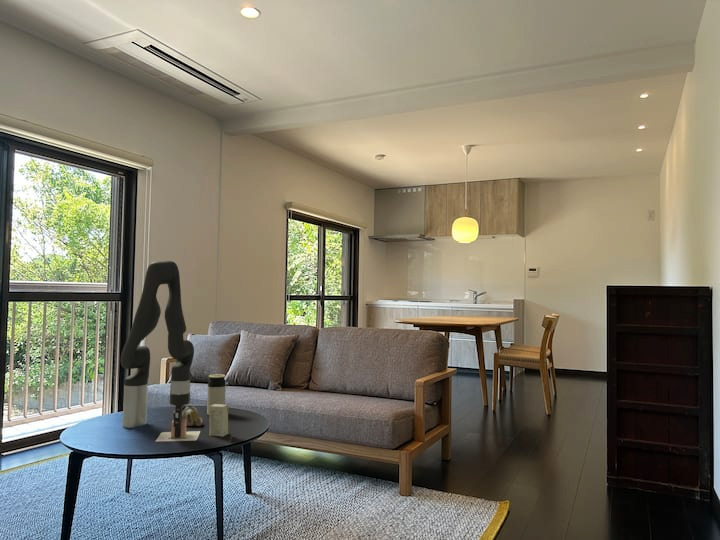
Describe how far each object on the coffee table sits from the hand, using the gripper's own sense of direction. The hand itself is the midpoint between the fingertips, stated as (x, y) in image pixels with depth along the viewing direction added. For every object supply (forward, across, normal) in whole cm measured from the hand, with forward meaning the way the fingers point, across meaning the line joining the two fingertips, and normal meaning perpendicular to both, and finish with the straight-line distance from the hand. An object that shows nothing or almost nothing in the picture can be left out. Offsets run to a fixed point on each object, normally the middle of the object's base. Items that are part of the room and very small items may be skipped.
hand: (178, 435), depth 207 cm
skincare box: (+1, -1, +15) cm, 15 cm away
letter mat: (+1, 0, 0) cm, 1 cm away
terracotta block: (0, 0, 0) cm, 0 cm away
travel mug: (+1, -38, +11) cm, 40 cm away
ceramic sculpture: (+1, -18, +2) cm, 19 cm away
